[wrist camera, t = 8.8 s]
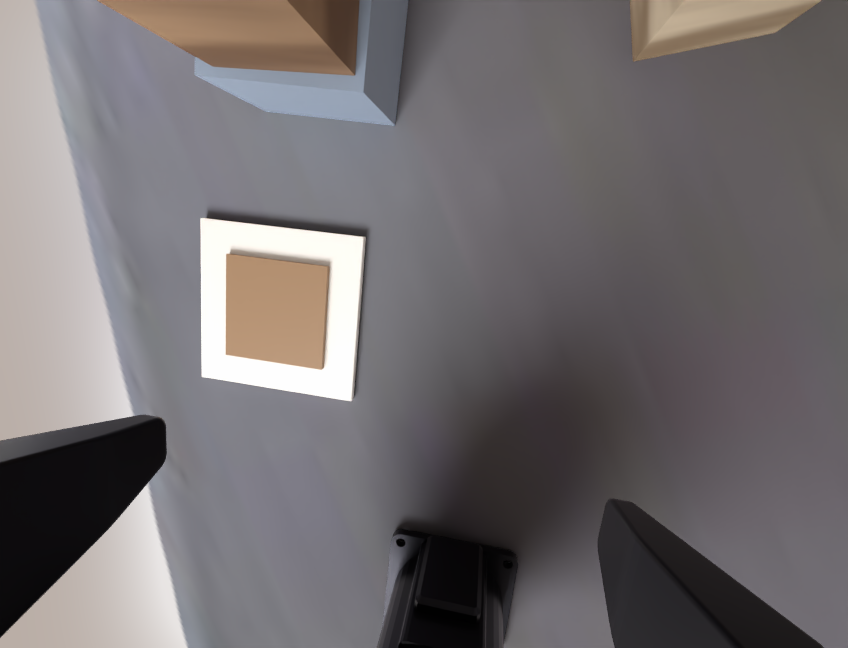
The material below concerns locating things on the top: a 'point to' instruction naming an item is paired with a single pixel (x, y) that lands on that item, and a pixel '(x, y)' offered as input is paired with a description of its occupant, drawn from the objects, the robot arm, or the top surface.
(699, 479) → the top surface
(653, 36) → the maple block
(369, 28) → the base block
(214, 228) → the swatch
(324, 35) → the walnut block
